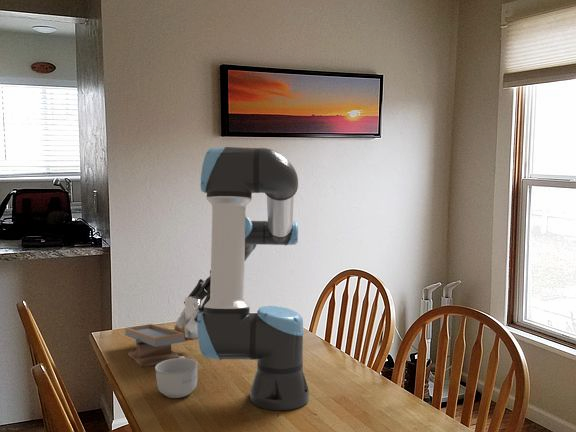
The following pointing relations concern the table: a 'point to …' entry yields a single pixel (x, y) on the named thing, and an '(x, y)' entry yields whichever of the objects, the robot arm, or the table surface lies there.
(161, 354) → the fulcrum
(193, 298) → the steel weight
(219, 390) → the table surface
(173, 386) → the teacup
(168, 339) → the rectangular tray
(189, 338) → the bread roll
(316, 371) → the table surface
